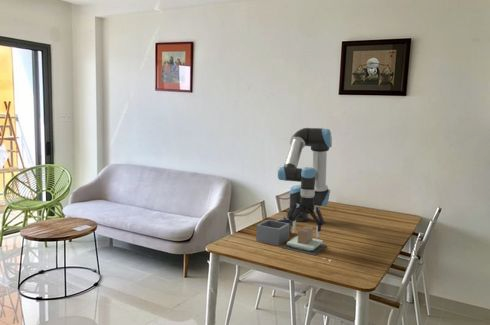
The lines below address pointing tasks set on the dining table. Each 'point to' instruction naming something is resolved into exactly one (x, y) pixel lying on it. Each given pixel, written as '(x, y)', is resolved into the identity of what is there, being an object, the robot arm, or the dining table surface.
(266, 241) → the storage box
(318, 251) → the mat
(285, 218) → the dark elongated oval piece
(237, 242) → the dining table surface
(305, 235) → the block on square base
